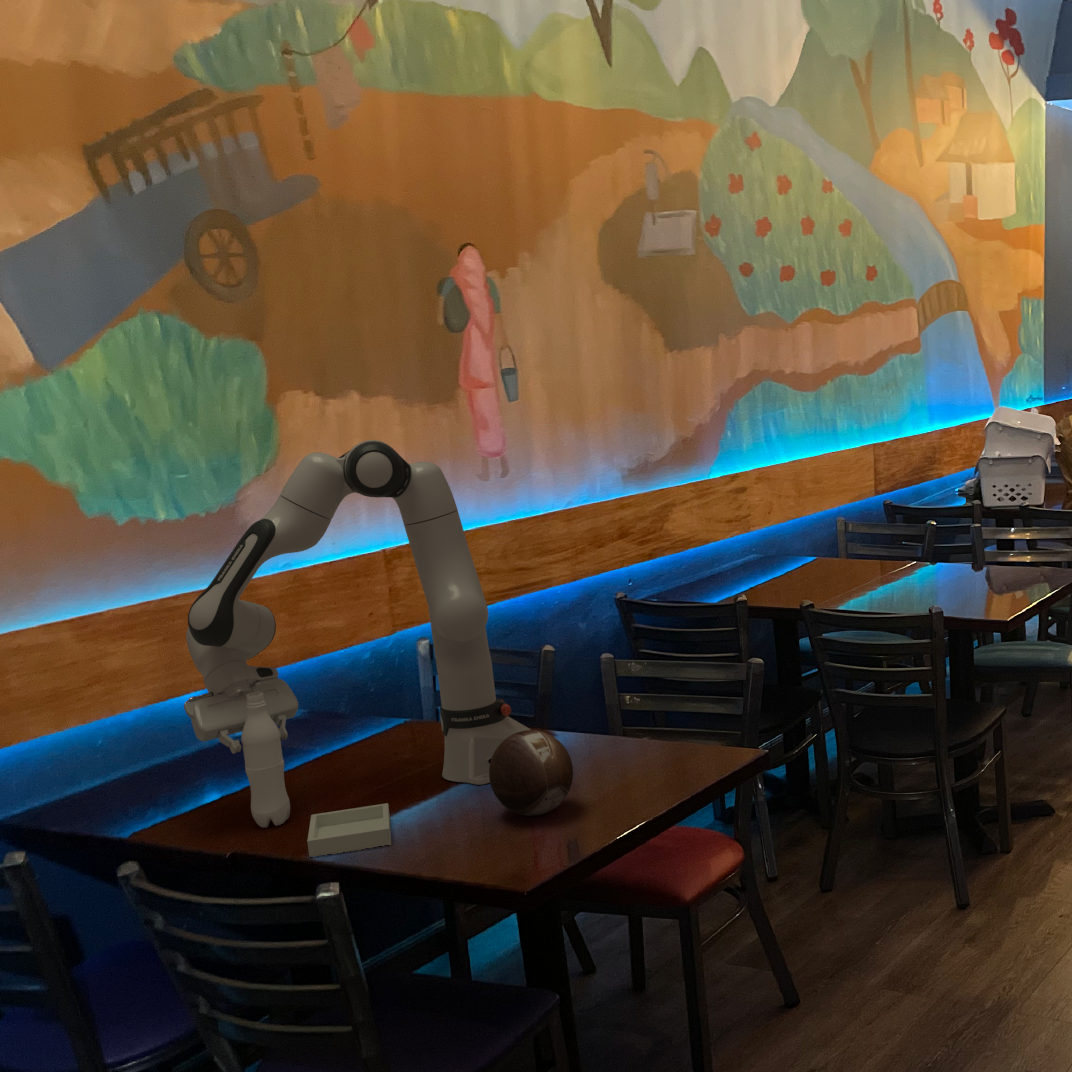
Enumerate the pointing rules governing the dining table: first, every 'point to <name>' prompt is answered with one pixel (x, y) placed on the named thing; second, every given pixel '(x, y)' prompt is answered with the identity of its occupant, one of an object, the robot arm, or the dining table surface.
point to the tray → (349, 830)
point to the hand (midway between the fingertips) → (260, 744)
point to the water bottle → (264, 764)
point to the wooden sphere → (531, 772)
